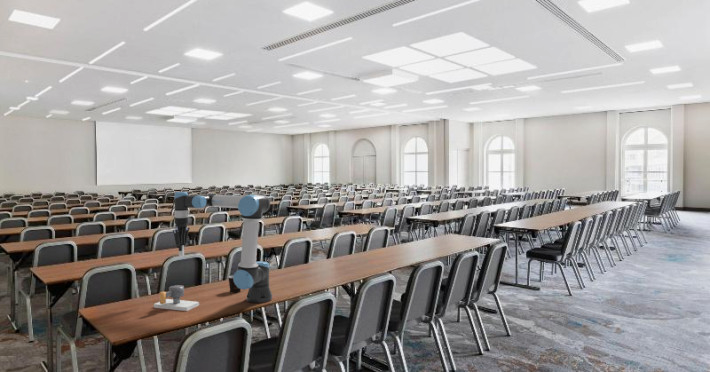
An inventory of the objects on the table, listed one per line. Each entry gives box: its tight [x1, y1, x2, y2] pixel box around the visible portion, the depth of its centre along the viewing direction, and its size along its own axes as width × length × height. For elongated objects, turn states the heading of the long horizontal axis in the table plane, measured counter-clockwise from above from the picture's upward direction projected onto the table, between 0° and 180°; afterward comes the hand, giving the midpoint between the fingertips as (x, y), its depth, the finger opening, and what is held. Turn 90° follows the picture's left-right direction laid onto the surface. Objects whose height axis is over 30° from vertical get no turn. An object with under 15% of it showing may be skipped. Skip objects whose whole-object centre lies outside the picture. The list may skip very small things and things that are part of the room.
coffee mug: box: [228, 274, 242, 294], centre depth 284 cm, size 12×9×10 cm
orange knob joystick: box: [159, 284, 185, 304], centre depth 248 cm, size 16×8×6 cm, turn 162°
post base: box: [153, 297, 200, 312], centre depth 252 cm, size 22×11×6 cm, turn 74°
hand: (181, 255), depth 266 cm, fingers closed
